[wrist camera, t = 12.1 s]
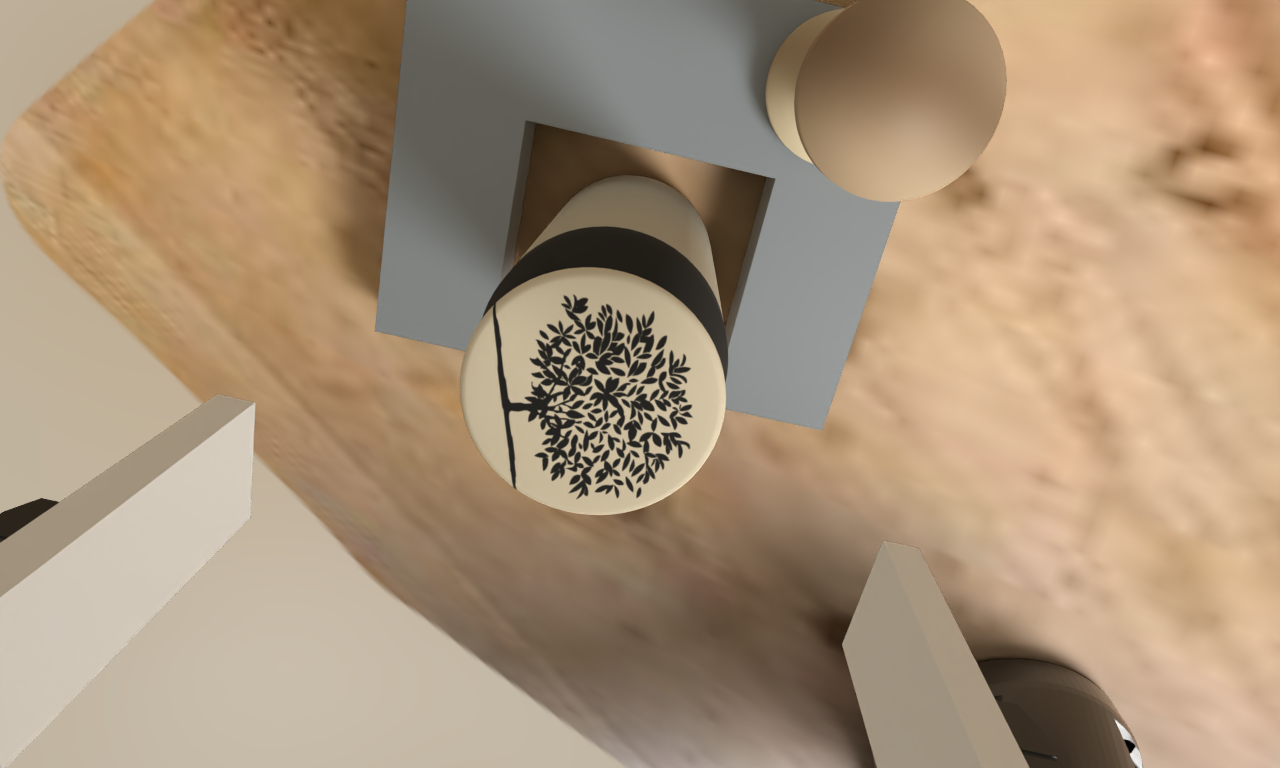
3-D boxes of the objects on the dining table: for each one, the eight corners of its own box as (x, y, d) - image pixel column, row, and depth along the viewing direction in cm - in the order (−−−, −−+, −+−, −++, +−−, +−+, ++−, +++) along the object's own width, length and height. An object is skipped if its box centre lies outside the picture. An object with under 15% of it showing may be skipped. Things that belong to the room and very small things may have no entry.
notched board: (812, 406, 41) (821, 430, 38) (396, 312, 40) (375, 331, 37) (934, 37, 34) (957, 35, 31) (437, -84, 33) (415, -98, 31)
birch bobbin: (883, 179, 34) (961, 221, 24) (748, 147, 33) (774, 177, 24) (933, 29, 31) (1039, 13, 22) (788, -7, 31) (834, -38, 22)
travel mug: (721, 183, 37) (756, 278, 20) (699, 342, 40) (714, 539, 23) (553, 165, 37) (450, 244, 20) (544, 325, 40) (447, 509, 23)
